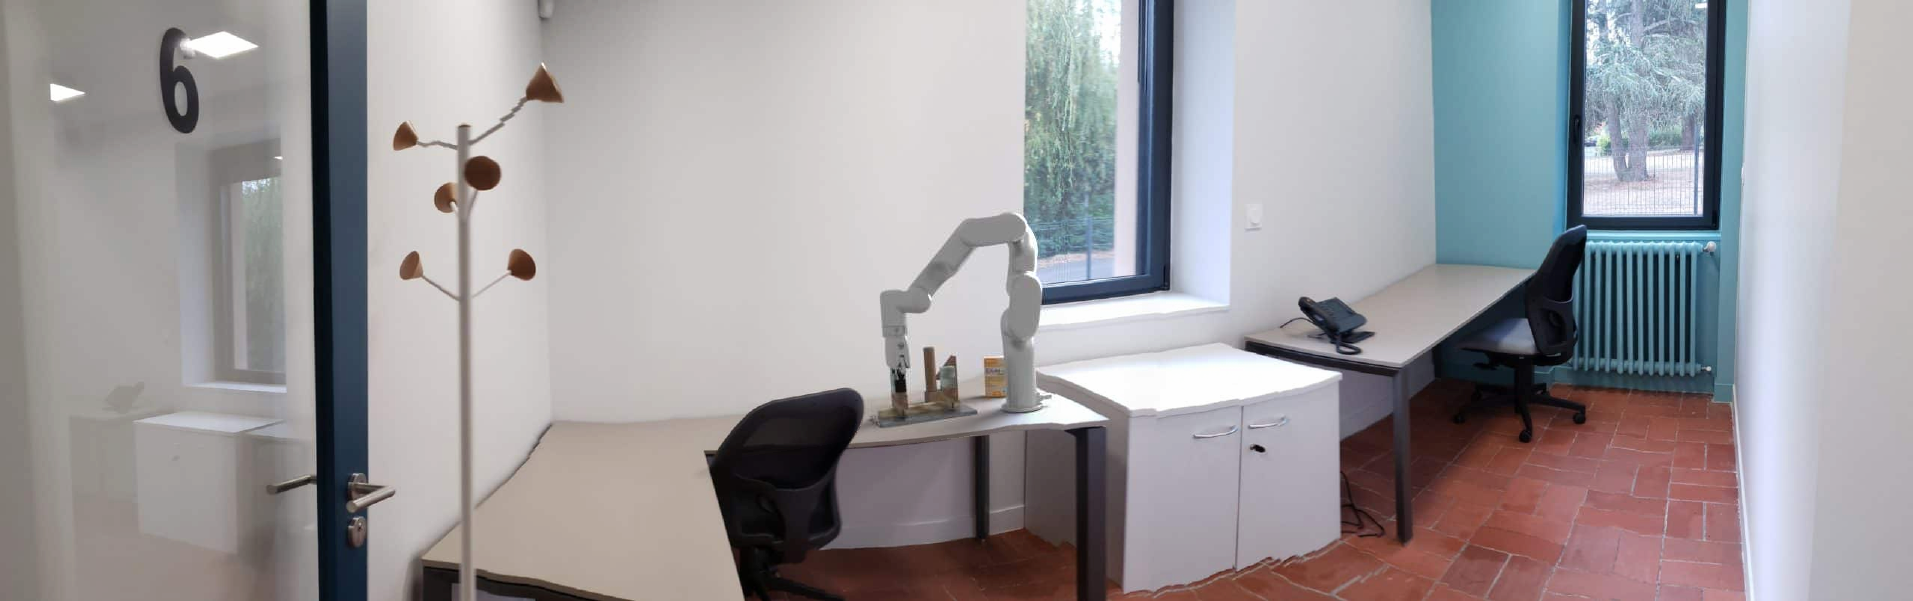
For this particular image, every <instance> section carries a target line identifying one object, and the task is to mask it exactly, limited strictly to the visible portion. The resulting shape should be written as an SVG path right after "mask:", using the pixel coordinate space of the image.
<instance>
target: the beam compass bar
mask: <svg viewBox="0 0 1913 601" xmlns="http://www.w3.org/2000/svg"><path fill="white" fill-rule="evenodd" d="M939 371H940V380H939V381H940V385H939V386H940V387H939V389H940V390H941V400H942V401H937V402H930V403H926V402H924V403H918V404H911V405H909V404H908V409H907V410H904V411H905V414H911V413H918V412H924V411H931V410H938V409H945V408H952V409H954V407H959V406H960V403H961V400H960V398H957V387H955V386H956V376H955V367H954V366H945V367H943V366H939ZM877 415H878V417H880V418H884V417H890V416H897V415H902V410H900V411H899V410H897V409H895V408H893V407H890V408H888V407H887V408H882V409H877Z"/></svg>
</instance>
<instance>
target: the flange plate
mask: <svg viewBox="0 0 1913 601" xmlns="http://www.w3.org/2000/svg"><path fill="white" fill-rule="evenodd" d="M970 414H971V415H977V414H978V409H975V408H974V407H971V406H968V405H967V404H964V403H963V402H960V406H959V407H954V409H952V408H945V409H938V410H931V411H924V412H918V413H911V414H905V416H902V415H897V416H890V417H884V418H880V417H878V414H872V415H868V418H869V417H870V418H871V419H872V420H874V421H876V422H877V423H879V424H880V425H881V426H891V427H898V426H903V425H904V424H905V425H910V424H917V423H918V424H919V423H923V422H929V421H930V422H931V421H937V420H943V419H949V418H950V419H951V418H957V417H964V416H970ZM872 420H871V421H872ZM877 423H876V424H877ZM880 425H879V426H880ZM881 426H880V427H881Z"/></svg>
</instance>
